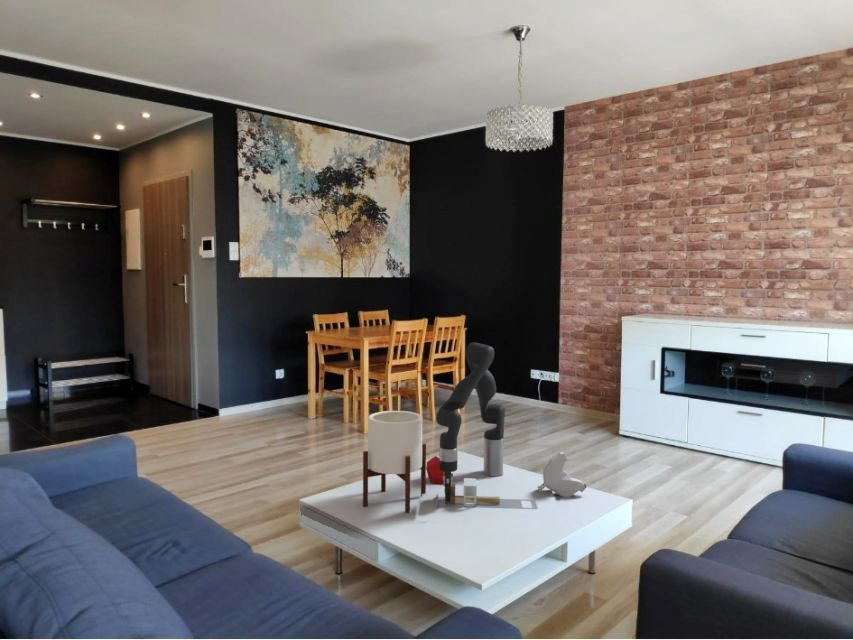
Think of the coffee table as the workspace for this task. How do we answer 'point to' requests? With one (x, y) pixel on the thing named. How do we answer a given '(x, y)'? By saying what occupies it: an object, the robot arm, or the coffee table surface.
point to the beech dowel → (478, 499)
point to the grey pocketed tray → (471, 490)
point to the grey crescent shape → (560, 478)
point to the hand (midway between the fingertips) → (447, 498)
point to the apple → (434, 471)
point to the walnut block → (452, 495)
